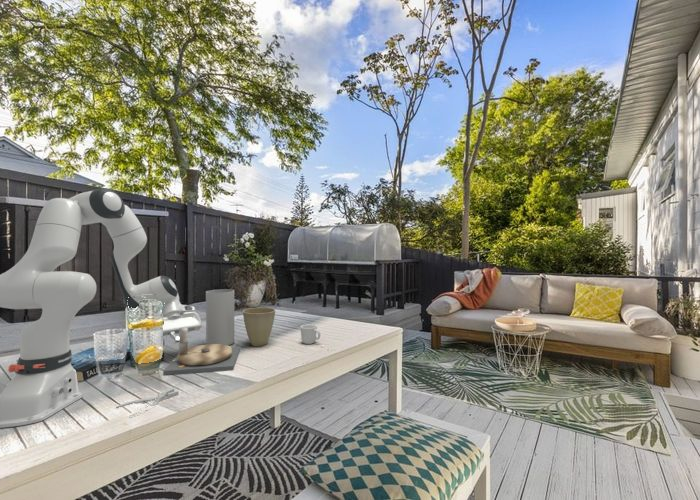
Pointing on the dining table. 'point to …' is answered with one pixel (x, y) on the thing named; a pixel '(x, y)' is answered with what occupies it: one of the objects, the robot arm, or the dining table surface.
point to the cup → (309, 333)
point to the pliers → (160, 397)
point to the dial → (201, 351)
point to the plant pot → (258, 324)
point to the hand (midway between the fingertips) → (179, 341)
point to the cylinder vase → (220, 317)
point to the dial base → (219, 366)
